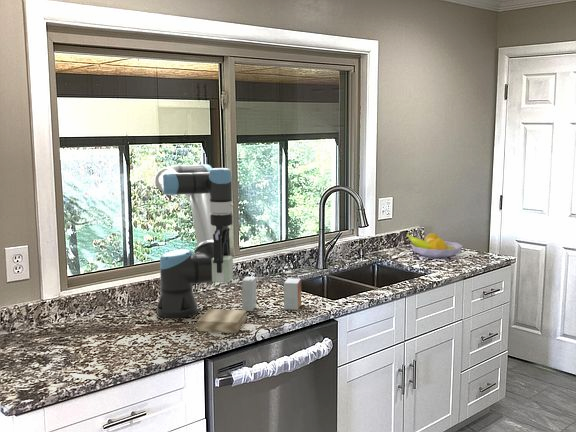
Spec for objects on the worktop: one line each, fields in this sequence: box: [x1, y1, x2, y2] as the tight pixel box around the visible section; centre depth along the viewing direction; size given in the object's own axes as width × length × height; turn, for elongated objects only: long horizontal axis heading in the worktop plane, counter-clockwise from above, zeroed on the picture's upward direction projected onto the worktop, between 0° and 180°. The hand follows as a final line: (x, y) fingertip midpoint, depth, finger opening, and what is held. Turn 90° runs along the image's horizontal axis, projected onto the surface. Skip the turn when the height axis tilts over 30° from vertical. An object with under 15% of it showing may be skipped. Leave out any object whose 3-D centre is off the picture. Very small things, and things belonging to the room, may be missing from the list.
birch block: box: [196, 308, 247, 334], centre depth 214 cm, size 14×14×4 cm
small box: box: [283, 277, 302, 311], centre depth 235 cm, size 8×6×10 cm
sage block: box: [211, 255, 234, 283], centre depth 212 cm, size 6×6×8 cm
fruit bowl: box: [406, 232, 463, 259], centre depth 325 cm, size 28×27×11 cm
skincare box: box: [241, 276, 257, 312], centre depth 233 cm, size 6×4×12 cm
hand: (222, 278), depth 213 cm, fingers closed on sage block, 6 cm apart
